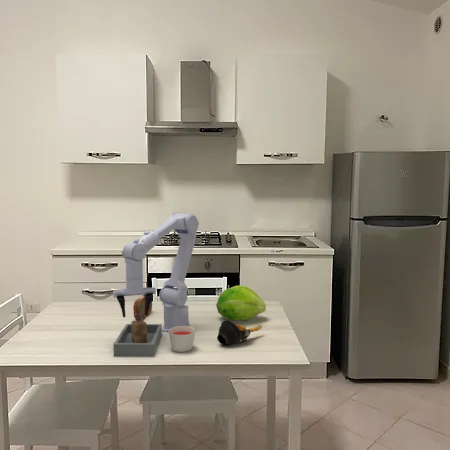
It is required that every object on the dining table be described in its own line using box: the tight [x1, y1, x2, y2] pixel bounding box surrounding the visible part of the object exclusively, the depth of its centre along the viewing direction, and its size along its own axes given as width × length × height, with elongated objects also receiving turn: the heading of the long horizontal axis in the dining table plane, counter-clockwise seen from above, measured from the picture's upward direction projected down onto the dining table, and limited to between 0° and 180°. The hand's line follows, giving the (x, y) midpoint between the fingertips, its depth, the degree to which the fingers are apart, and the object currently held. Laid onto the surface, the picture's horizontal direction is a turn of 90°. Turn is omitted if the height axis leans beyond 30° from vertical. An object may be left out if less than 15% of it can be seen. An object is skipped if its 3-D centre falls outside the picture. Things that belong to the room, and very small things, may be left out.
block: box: [130, 320, 148, 343], centre depth 162 cm, size 4×4×7 cm
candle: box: [168, 325, 196, 353], centre depth 160 cm, size 9×9×6 cm
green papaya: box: [215, 285, 267, 322], centre depth 190 cm, size 15×20×14 cm
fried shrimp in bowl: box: [216, 319, 263, 346], centre depth 167 cm, size 9×11×18 cm
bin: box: [113, 323, 163, 357], centre depth 163 cm, size 13×20×4 cm, turn 0°
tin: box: [132, 295, 153, 321], centre depth 193 cm, size 15×3×8 cm, turn 168°
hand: (135, 315), depth 165 cm, fingers open, 7 cm apart
